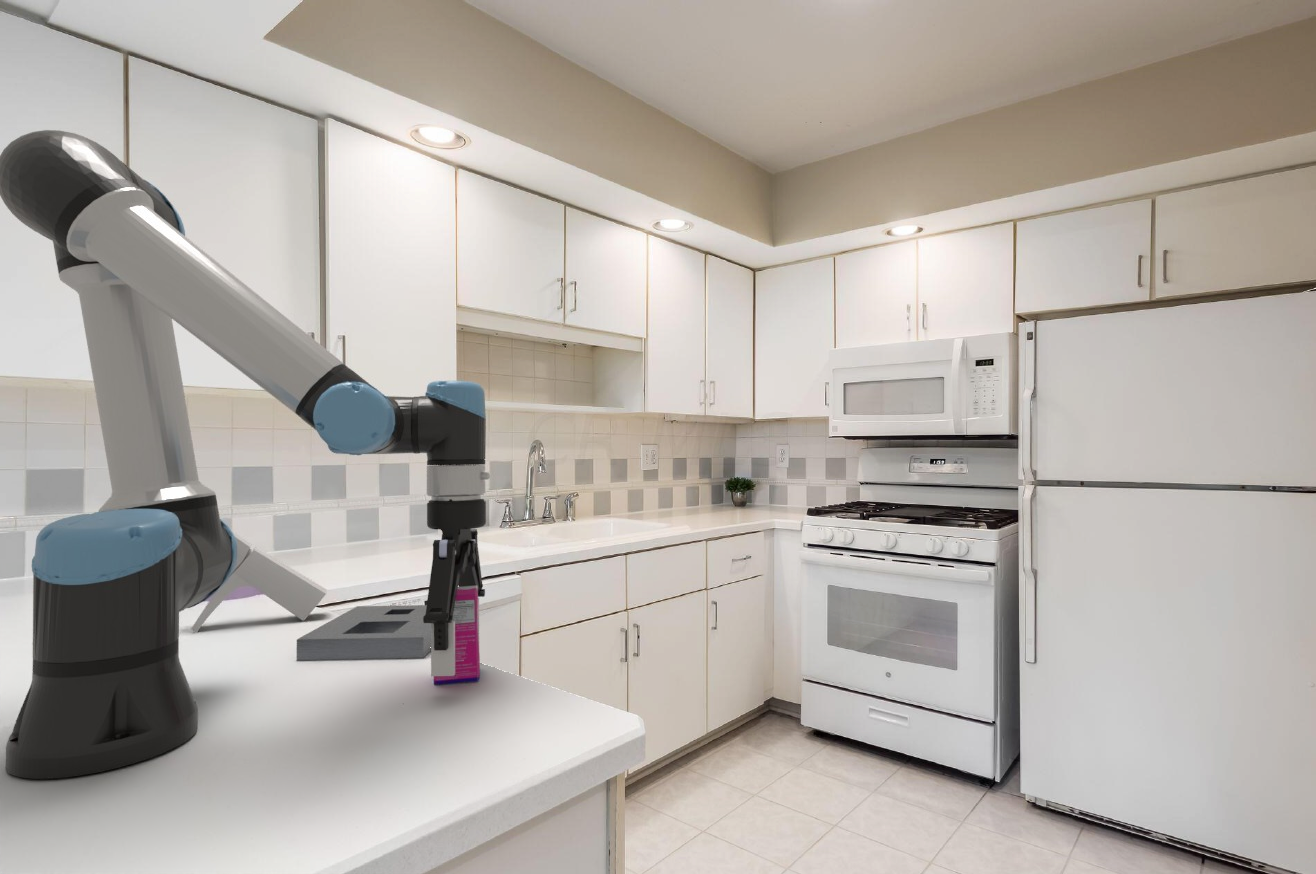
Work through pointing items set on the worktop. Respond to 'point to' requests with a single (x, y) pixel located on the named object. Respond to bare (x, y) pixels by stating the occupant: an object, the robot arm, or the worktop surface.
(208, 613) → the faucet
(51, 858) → the worktop surface
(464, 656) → the supplement box
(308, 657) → the socket plate
